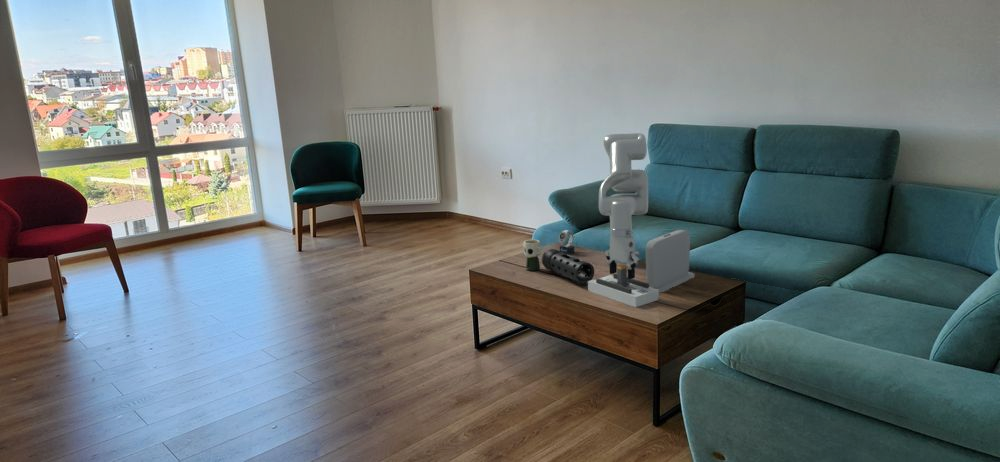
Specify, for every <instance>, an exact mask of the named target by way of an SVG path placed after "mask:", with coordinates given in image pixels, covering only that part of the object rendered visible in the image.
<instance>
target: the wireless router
mask: <svg viewBox="0 0 1000 462" xmlns="http://www.w3.org/2000/svg"><path fill="white" fill-rule="evenodd" d="M690 250H691V233H690V231H689V230H686V229H676V230H675V231H672V232H668V233H665V234H662V235H661V236H658V237H655V238H653V239H650V240H649V241H648V242H647V244H646V245H645V273H646V275H645V276H646V283H648V284H649V287H651V288H654V289H658V294H660V293H665V292H666V291H669V290H671V289H673V288H675V287H676V286H679V285H681V284H683V283H685V282H687V281H689V279H690V280H691V278H692V279H693V278H695V275H696V274H695V273H693V272H691V271H689V270H690V254H691V253H690V252H691V251H690ZM672 287H673V288H672ZM670 288H671V289H670Z"/></svg>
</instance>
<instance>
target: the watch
mask: <svg viewBox="0 0 1000 462" xmlns="http://www.w3.org/2000/svg"><path fill="white" fill-rule="evenodd" d="M568 233H569V234H568ZM568 235H569V237H568ZM557 238H558V239H557V240H558V242H559V245H561V246H559V251H561V252H562V253H564V254H567V255H571V254H575V246H574V245H572V244H573V242H574V240H575V236H574V233H573V231H572V230H568V229H565V230H562V231H561V232H560V233H559V234H558V236H557ZM567 239H568V242H567V244H565V242H566V241H567Z"/></svg>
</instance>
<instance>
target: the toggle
mask: <svg viewBox="0 0 1000 462" xmlns="http://www.w3.org/2000/svg"><path fill="white" fill-rule="evenodd" d="M616 274H617V283H615V284H617V285H620V286H623V287H624V286H627V285H630V283H627V277H628V266H627V265H624V264H622V265H619V266H617V272H616Z"/></svg>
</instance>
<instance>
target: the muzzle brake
mask: <svg viewBox="0 0 1000 462" xmlns="http://www.w3.org/2000/svg"><path fill="white" fill-rule="evenodd" d="M543 252H544V253H542V255H541V264H542V265H543V266H544V268H545V269H547V270H548V271H550V272H554V273H555V275H558V276H559V277H560V276H561V277H562V276H563V277H566V278H567V279H568V280H571V281H572V282H574V283H576V284H579V285H582V286H587V285H588V281H591V280H593V278H594V276H595V268H594V265H593V264H591V263H590V262H587V261H585V260H582V259H580V258H578V257H575V256H572V255H571V254H564V253H562V252H561V251H560V250H558V249H555V248H552V249H551V248H550V249H547V250H546V251H543Z"/></svg>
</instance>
